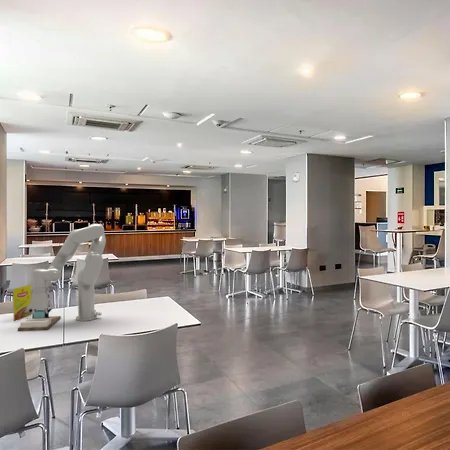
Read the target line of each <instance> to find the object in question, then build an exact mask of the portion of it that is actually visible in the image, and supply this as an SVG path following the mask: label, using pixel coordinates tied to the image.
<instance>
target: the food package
mask: <svg viewBox="0 0 450 450" xmlns="http://www.w3.org/2000/svg"><path fill="white" fill-rule="evenodd" d="M12 291H13V293H12V294H13V295H12V296H13V297H12V299H13V300H12V302H13V322H16V320H17V321H20V320H22V319H24V318H25V319H26V318H27V317H30V316H32V314H31V312H30V311H29V310H28V309H27V308H26V307H27V306H28V305H29V304H30V303H31V295H32V284H27V285H24V286H20V287H16V288H13V290H12ZM30 308H31V307H30Z"/></svg>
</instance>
